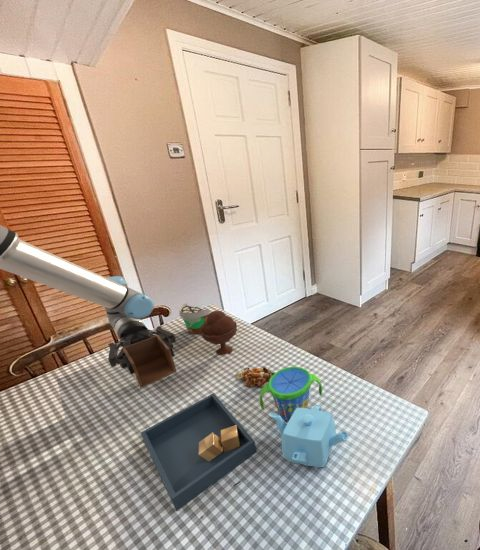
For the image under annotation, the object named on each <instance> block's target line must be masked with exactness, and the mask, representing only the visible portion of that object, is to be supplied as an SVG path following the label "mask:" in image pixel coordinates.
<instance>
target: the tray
mask: <svg viewBox="0 0 480 550" xmlns="http://www.w3.org/2000/svg"><path fill="white" fill-rule="evenodd" d="M235 425H237V429H238V434H239V441H240V447H237V448H235V449H232V450H229V451H227V452H224V450H223V452H222V453H220V454H219V455H218V456H216V457H215V458H214V459H212V460H211V461H210V462H208V461H207V460H205V459H204V458H202V457H201V456H199V442H200V441H202V440H203V439H204V438H206V437H207V436H209V435H210V434H211V433H214V434H215V435H217V436H218V437H219V438H221V430H223V429H226V428H229V427H232V426H235ZM140 436H141V438H142V440H143V443H144V445H145V447H146V450H147V452H148V454H149V456H150V458H151V461H152V462H153V465H154V467H155V468H156V469H155V470H156V471H157V473H158V476H159V478H160V480H161V481H162V483H163V486H164V488H165V490H166V493H167V495H168V497H169V499H170V500H171V503H172V505H173V507H174V509H175V510H174V511H176V512H178V511H180V510H181V509H182V508H183V507H185V506H186V505H187V504H189V503H190V502H192V501H193V500H194V499H195V498H197V497H198V496H199V495H202V493H204V492H205V491H206V490H208V489H209V488H210V487H212V486H213V485H215V484H216V483H217V482H218V481H220V480H221V479H223V478H224V477H225V476H226V475H228V474H229V473H231V472H232V471H233V470H235V469H236V468H237V467H239V466H240V465H242V464H243V463H244V462H246V461H247V460H248V459H249V458H251V457H252V456H254V455H255V454H256V453H257V446H256V441H255V439H254V438H253V437H252V436H251V434H249V432H248V431H247V430H246V429H245V427H243V425H241V423H240V422H239V421H238V419H237V418H236V417H235V416H234V415H233V413H232V412H231V411H230V410H229V409H228V408H227V407H226V405H225V404H224V402H222V401H221V400H220V398H219V397H218V396H217V395H216V394H215V393H214V392H213V393H211V394H209V395H208V396H206V397H203V398H201V399H200V400H198V401H196V402H195V403H192V404H191V405H189V406H187V407H185V408H184V409H181V410H179V411H177V412H176V413H174V414H172V415H170V416H168V417H167V418H165V419H163V420H161V421H159V422H157V423H155V424H154V425H151V426H150V427H148V428H146V429H145V430H142V431H141V432H140Z"/></svg>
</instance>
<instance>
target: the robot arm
mask: <svg viewBox="0 0 480 550" xmlns="http://www.w3.org/2000/svg"><path fill="white" fill-rule="evenodd" d="M0 270H1V271H2V270H3V271H5V272H8V273H10V274H13V275H16V276H19V277H22V278H25V279H27V280H29V281H32V282H35V283H38V284H41V285H44V286H46V287H49V288H51V289H55V290H57V291H60V292H63V293H65V294H68V295H70V296H74V297H76V298H79V299H82V300H85V301H88V302H90V303H93V304H96V305H98V306H102V307H104V310H105V312H106V315H107V321H108V322H109V325H110V327H112V329H113V330H114V332H115V334H116V336H117V337H118V339H119V340H118V342H115V343H114V342H109V343H108V349H109V352H108V356H107V357H108V358H107V360H108V363H109V365H110V367H112V368H113V367H116V366H117V365H119V366H120V367H121V369H125V368H127V370H128V371H129V374H130V375H133V373H134V370H133V368H132V365H131V363H130V361H129V360H128V358H127V356H126V355H125V354H124V351H123V349H122V348H123V347H126V346H129V345H132V344H134V343H137V342H140V341H142V340H145V339H148V338H151V337H153V336H156V335H158V336H159V337H160V338H161V339H162V340H163V341H164V343H165V344H166V345H167V346H168V347H169V349H170V351H171V354H172V358H174V357H175V353H174V350H173V349H174V348H175V347H174V344H175V343H176V342H177V338H176V335H175V334H174V333H172V332H170V331H168V330H166V329H164V328H162V326H161V325H158V326H156V328H155V329H149V328H148V327H147V326H146V324H145V323H144V322H143V321H142V319H145V318H147V317H149V316H150V315H151V314H152V312H153V311H154V307H155V303H154V301H153V299H152V298H151V297H150V296H148V295H147V294H145V293H142V292H140V291H137V290H135V289H133V288H130V287H128V282H127V281H126V278H125V277H123V276H121V275H116V276H115V275H114V276H108V277H105V276H104V275H102V274H99V273H96V272H95V271H92V270H90V269H87V268H85V267H83V266H80V265H78V264H76V263H75V262H71V261H70V260H67V259H65V258H63V257H60V256H58V255H56V254H53V253H51V252H49V251H48V250H46V249H43V248H40V247H39V246H38V247H37V246H35V245H34V244H31V243H29V242H27V241H25V240H22V239H20V237H19V235H18V233H17V232H15V231H14V230H11V229H9V228H7V227H5V226H3V225H1V224H0ZM173 343H174V344H173ZM120 347H121V349H120ZM118 351H119V352H118Z"/></svg>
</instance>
